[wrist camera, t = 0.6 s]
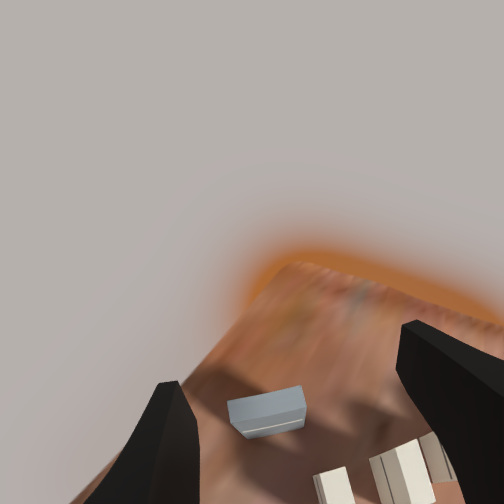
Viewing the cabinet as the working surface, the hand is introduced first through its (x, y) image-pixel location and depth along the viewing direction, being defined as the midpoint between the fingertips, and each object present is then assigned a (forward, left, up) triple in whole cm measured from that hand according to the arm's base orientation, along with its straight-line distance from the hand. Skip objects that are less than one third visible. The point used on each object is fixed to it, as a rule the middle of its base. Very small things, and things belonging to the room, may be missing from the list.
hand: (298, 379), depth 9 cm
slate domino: (+2, +1, -19) cm, 19 cm away
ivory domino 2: (-6, -7, -19) cm, 21 cm away
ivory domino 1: (-6, -2, -19) cm, 20 cm away
